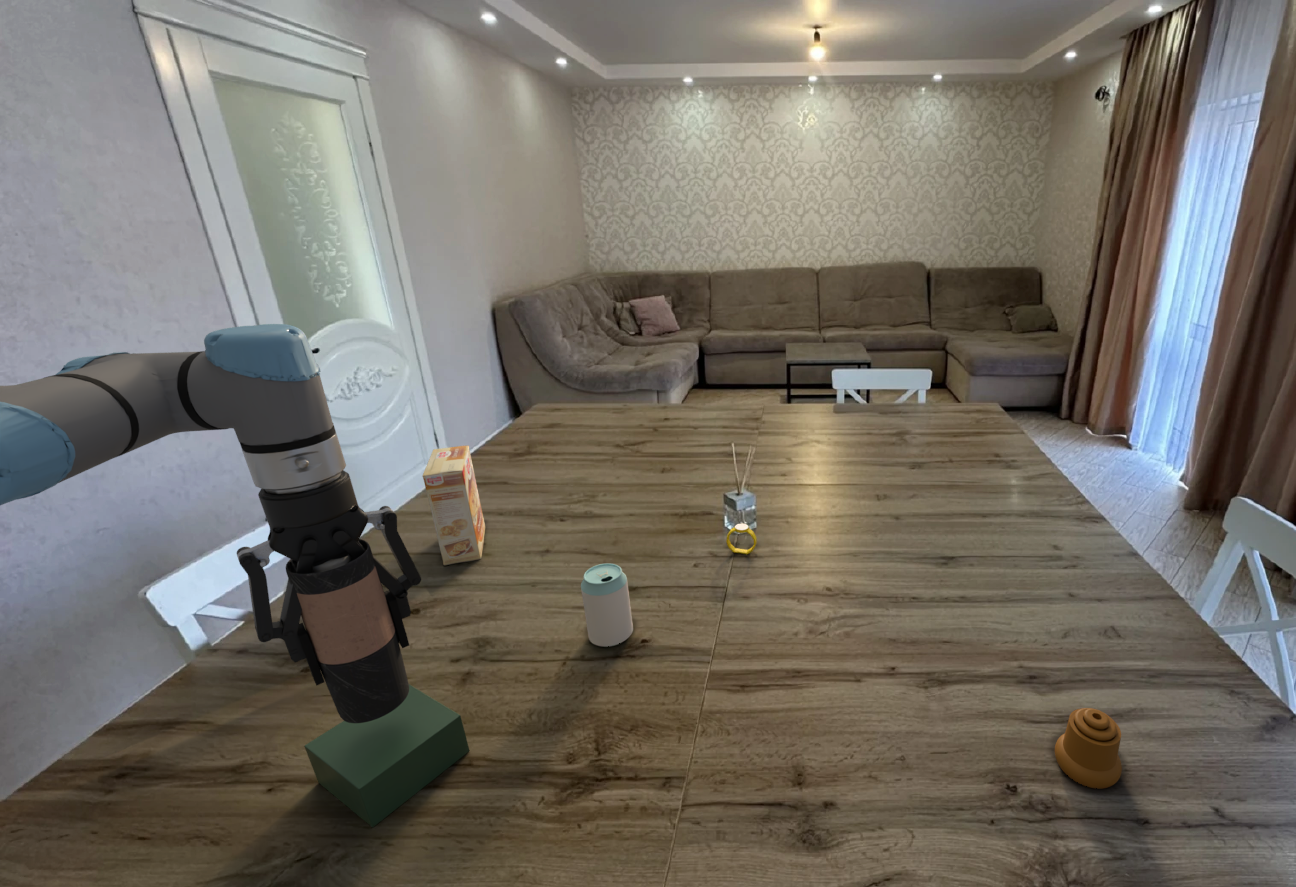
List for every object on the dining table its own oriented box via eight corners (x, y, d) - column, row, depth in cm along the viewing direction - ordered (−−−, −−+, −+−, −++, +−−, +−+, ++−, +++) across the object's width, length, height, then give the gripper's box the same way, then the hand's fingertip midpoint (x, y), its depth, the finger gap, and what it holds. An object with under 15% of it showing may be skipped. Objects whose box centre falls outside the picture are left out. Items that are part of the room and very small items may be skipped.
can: (641, 625, 102) (634, 564, 97) (619, 653, 95) (610, 588, 91) (604, 618, 103) (595, 558, 99) (580, 645, 97) (569, 581, 93)
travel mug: (386, 726, 69) (337, 575, 62) (320, 725, 69) (264, 575, 62) (425, 677, 76) (386, 537, 69) (365, 677, 76) (319, 537, 69)
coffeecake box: (482, 559, 122) (462, 470, 115) (442, 566, 119) (420, 475, 112) (486, 525, 135) (469, 443, 128) (451, 532, 132) (431, 448, 125)
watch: (725, 555, 122) (724, 529, 120) (729, 547, 125) (727, 522, 123) (755, 557, 122) (754, 530, 119) (757, 549, 124) (756, 524, 122)
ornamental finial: (1106, 805, 70) (1043, 766, 75) (1128, 766, 75) (1067, 732, 80) (1119, 753, 68) (1052, 716, 73) (1141, 716, 72) (1077, 684, 77)
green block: (372, 828, 69) (358, 789, 66) (318, 782, 74) (303, 745, 72) (470, 751, 78) (460, 715, 76) (415, 716, 84) (405, 681, 82)
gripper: (166, 527, 53) (252, 727, 61) (425, 460, 66) (467, 632, 75) (163, 500, 58) (242, 689, 66) (405, 443, 71) (446, 606, 79)
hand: (361, 658), depth 70 cm, fingers closed on travel mug, 8 cm apart
